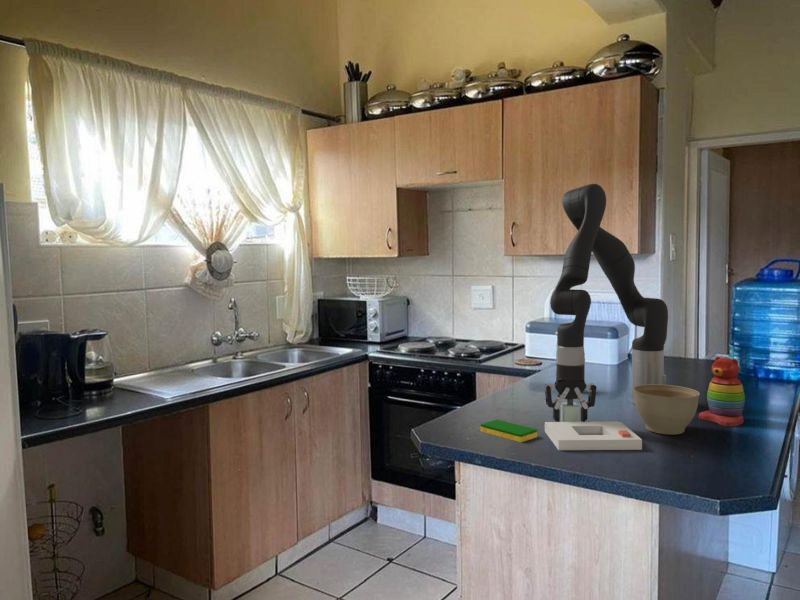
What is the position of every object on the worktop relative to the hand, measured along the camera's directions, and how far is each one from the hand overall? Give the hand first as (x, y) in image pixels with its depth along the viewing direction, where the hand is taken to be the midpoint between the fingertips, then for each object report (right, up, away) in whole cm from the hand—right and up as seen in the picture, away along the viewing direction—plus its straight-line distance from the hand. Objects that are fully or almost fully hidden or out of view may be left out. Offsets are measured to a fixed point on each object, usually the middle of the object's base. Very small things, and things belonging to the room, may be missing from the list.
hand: (570, 421), depth 169 cm
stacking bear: (+44, 0, +3) cm, 44 cm away
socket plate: (+2, -2, -13) cm, 13 cm away
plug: (0, -1, 0) cm, 1 cm away
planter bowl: (+24, -1, -6) cm, 25 cm away
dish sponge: (-18, -3, -6) cm, 19 cm away
